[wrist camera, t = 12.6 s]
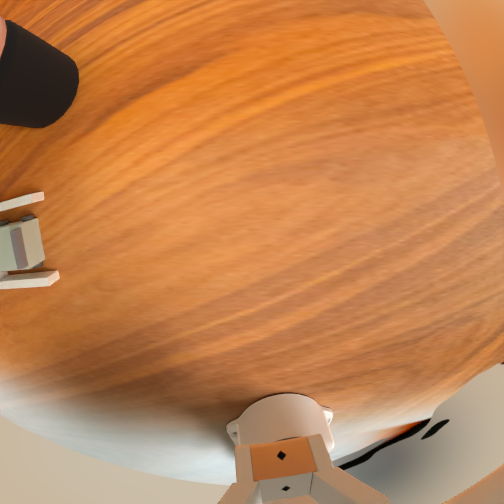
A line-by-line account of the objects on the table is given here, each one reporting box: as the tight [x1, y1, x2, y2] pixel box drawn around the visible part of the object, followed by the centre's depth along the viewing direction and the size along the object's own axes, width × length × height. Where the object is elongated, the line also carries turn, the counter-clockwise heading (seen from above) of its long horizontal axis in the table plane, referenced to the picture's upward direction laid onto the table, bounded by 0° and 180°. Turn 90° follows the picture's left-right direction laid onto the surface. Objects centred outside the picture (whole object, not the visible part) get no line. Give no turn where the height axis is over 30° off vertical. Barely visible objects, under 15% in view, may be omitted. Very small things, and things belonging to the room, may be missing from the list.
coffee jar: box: [0, 16, 79, 128], centre depth 20 cm, size 11×11×18 cm
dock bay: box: [0, 191, 60, 289], centre depth 32 cm, size 12×12×3 cm
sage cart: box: [0, 215, 45, 271], centre depth 31 cm, size 7×8×6 cm
